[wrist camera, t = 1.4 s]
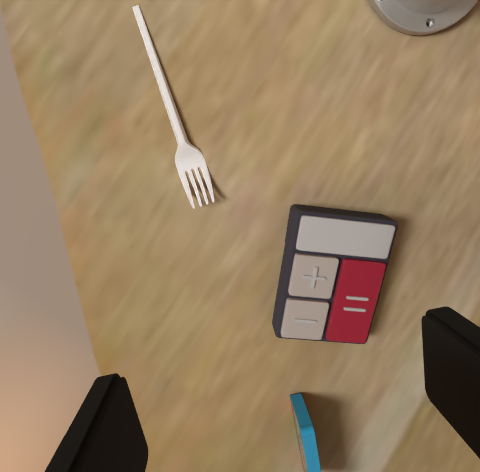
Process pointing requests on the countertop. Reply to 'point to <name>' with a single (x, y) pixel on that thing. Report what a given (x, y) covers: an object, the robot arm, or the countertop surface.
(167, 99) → the fork
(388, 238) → the calculator
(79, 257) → the countertop surface
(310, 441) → the blue thin box
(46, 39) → the countertop surface
